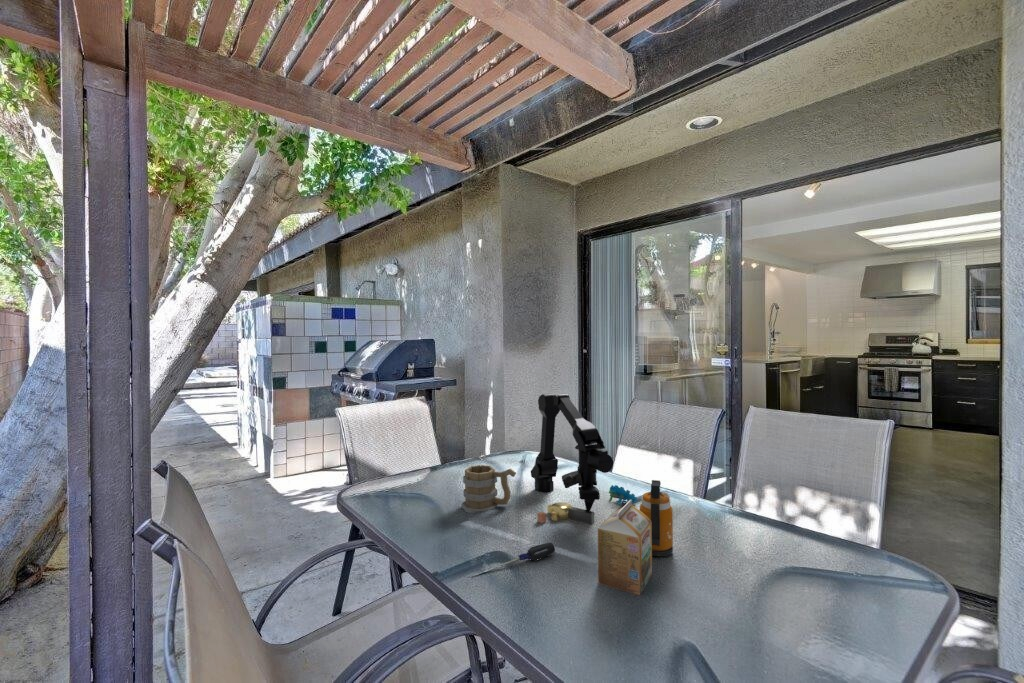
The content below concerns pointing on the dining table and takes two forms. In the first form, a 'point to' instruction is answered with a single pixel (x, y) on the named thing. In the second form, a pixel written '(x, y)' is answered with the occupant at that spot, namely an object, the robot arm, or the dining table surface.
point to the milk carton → (625, 550)
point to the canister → (659, 519)
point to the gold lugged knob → (570, 513)
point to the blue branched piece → (621, 494)
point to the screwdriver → (535, 553)
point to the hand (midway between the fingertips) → (588, 511)
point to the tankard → (484, 488)
